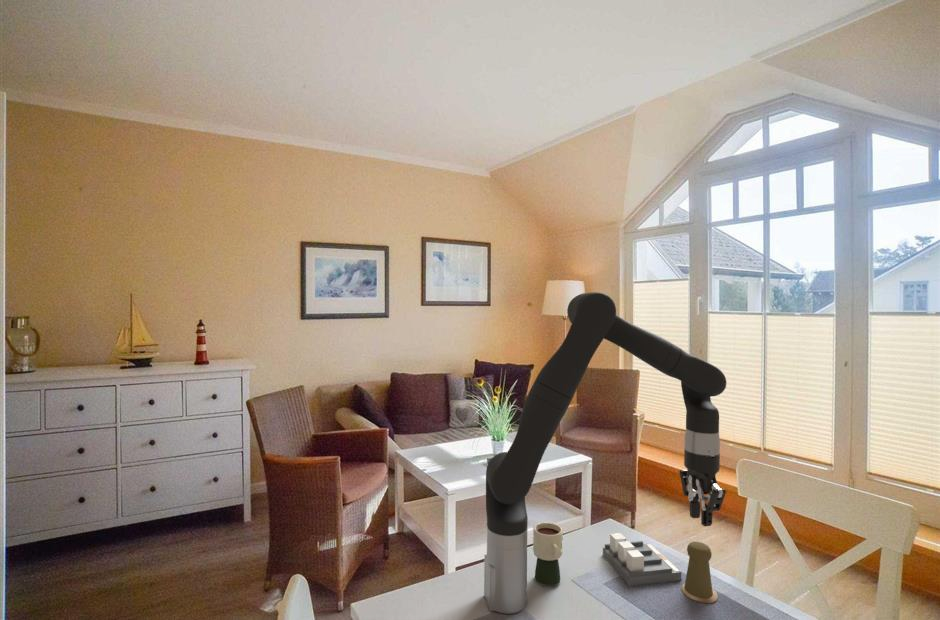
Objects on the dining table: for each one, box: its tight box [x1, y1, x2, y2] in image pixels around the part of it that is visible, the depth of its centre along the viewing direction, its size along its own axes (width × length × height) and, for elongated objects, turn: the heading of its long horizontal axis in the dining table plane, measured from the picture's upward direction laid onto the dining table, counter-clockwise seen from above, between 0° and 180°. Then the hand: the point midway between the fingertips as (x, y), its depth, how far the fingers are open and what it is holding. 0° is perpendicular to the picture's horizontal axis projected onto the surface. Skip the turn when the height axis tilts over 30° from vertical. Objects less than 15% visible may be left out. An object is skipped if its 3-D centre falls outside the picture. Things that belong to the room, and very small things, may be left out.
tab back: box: [609, 532, 627, 553], centre depth 126 cm, size 3×3×4 cm
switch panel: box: [602, 540, 682, 586], centre depth 122 cm, size 14×14×3 cm
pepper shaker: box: [684, 541, 713, 598], centre depth 111 cm, size 6×6×11 cm
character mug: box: [532, 521, 564, 586], centre depth 116 cm, size 11×7×13 cm, turn 12°
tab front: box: [626, 550, 644, 571], centre depth 117 cm, size 3×3×4 cm
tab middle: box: [618, 540, 635, 562], centre depth 121 cm, size 3×3×4 cm
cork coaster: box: [681, 582, 718, 604], centre depth 111 cm, size 8×8×1 cm
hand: (700, 521), depth 111 cm, fingers open, 3 cm apart
